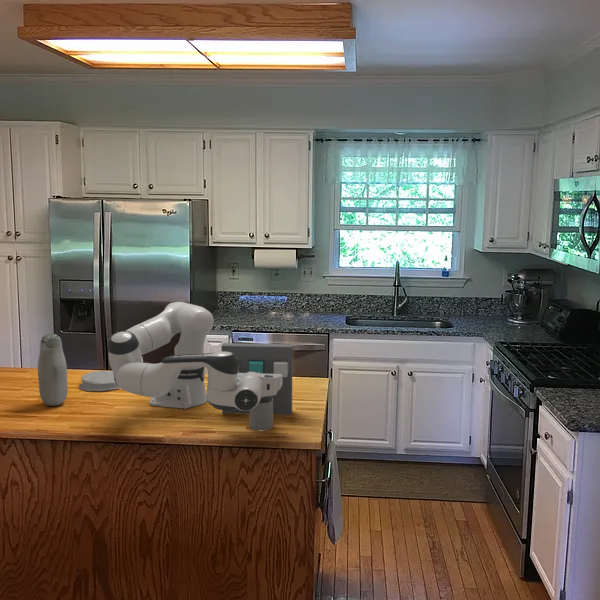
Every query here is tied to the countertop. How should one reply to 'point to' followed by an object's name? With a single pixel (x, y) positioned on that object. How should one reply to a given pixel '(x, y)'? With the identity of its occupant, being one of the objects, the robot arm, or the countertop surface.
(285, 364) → the light grey push-block
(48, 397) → the grey bottle
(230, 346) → the button panel
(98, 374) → the food container
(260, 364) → the teal push-block
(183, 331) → the robot arm
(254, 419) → the cup
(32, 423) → the countertop surface
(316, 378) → the countertop surface
